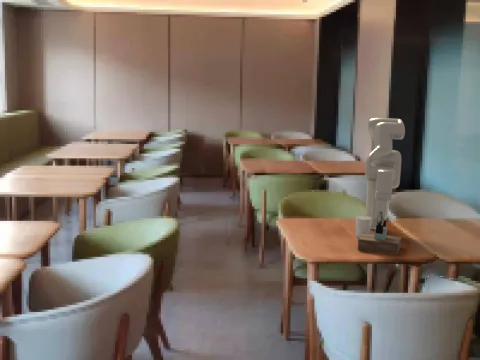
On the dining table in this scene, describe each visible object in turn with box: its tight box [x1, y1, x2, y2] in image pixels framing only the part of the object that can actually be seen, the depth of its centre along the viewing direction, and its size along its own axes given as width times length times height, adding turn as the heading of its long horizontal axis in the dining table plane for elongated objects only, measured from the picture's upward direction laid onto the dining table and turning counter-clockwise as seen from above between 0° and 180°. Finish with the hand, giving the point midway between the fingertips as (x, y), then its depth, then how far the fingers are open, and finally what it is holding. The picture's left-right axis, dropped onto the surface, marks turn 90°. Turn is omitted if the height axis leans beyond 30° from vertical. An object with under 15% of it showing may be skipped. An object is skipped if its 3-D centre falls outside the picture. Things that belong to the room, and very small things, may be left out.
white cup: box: [355, 215, 372, 239], centre depth 293 cm, size 8×8×10 cm
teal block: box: [374, 226, 388, 240], centre depth 273 cm, size 5×5×5 cm
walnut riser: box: [357, 232, 402, 256], centre depth 274 cm, size 14×18×5 cm
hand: (380, 230), depth 274 cm, fingers open, 9 cm apart
